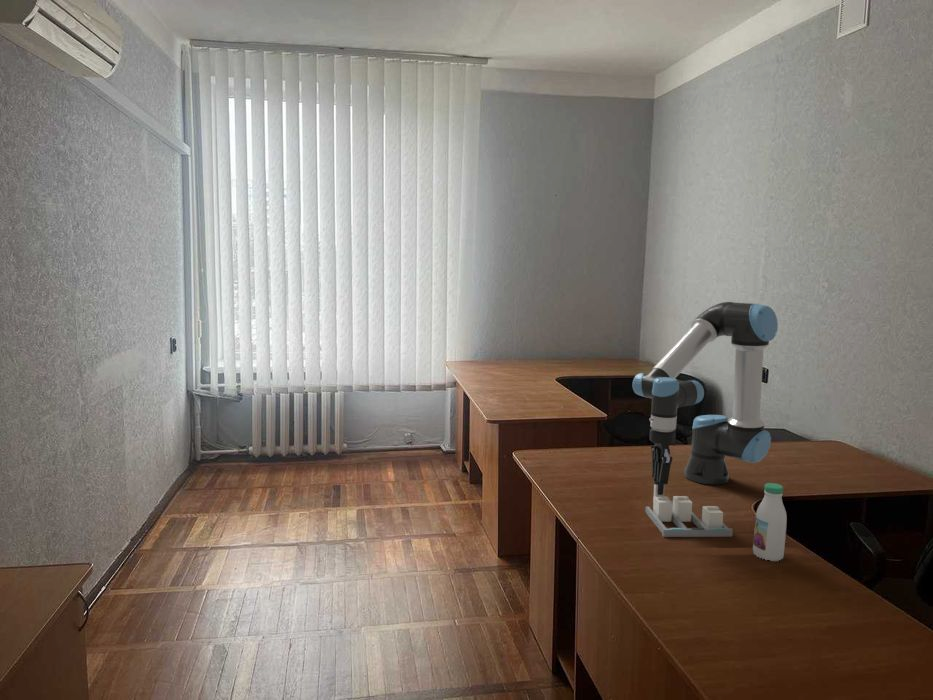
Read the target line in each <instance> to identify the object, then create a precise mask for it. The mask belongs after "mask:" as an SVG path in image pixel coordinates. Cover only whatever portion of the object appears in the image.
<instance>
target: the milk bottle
mask: <svg viewBox="0 0 933 700" xmlns="http://www.w3.org/2000/svg"><path fill="white" fill-rule="evenodd" d="M783 492H784V486H783V485H781V484H779V483H774V482H768V483H767V482H766V483H765V484H764V497H763V498H762V501H761V502H759V505H758V506H757V509H756V512H755V520H754V529H753V531H754V533H753V545H752V552H753V555H754V556H755V555H756V556H755V557H756V558H758V557H759V559H761V558H762V560H763V559H765V560H764V561H767V560H770V561H769V562H779V560H780V561H782V560H783V559H784V555H785V546H786V544H785V543H786V535H787V520H788V519H787V518H788V517H787V511H786V508H785V506H784V503H783V498H782V496H783V495H784V494H783ZM781 559H782V560H781Z"/></svg>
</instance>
